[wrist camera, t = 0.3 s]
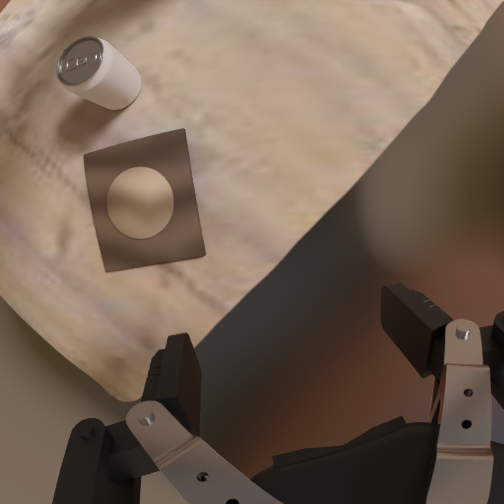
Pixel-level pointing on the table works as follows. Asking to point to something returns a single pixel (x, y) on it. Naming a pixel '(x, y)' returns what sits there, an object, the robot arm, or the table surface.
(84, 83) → the can
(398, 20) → the table surface
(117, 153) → the rest board
